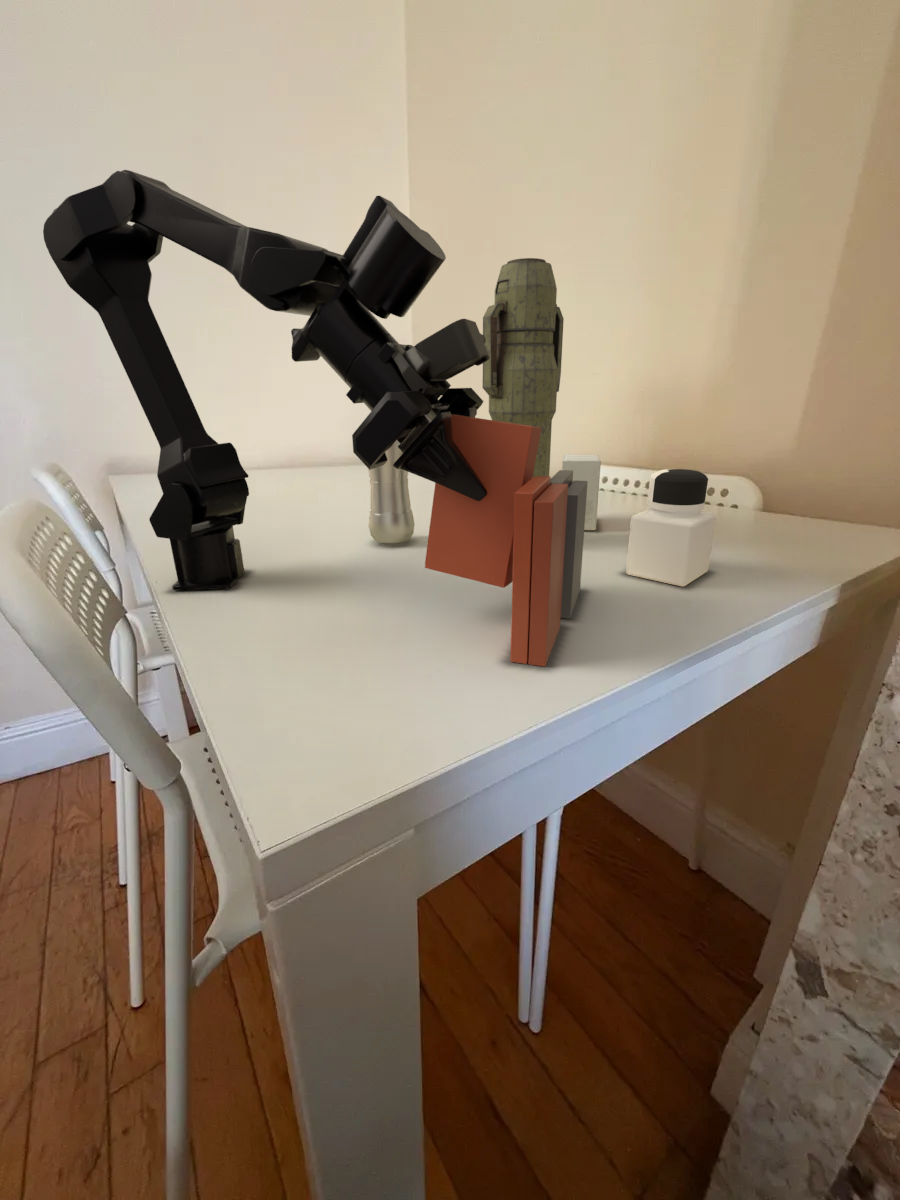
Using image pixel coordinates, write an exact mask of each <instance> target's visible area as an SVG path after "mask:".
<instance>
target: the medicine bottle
mask: <svg viewBox="0 0 900 1200" xmlns="http://www.w3.org/2000/svg"><path fill="white" fill-rule="evenodd" d="M708 482H709V478H708V476H707V475H706V474H705V473H703V472H701V471H700V470H696V469H695V470H694V469H684V468H666V469H660V470H658V471H655V472H653V473H652V474H651V475H650V477H649V484H648V494H647V503H646V507H648V508H649V509H646V510H644V511H641V512H639V513H635V514H633V515H632V516H630V524H629V525H630V526H629V534H628V535H629V536H628V537H629V538H628V546H627V554H626V555H627V556H626V565H625V566H626V567H625V574H626V575H628V576H632V577H633V576H634V577H637V578H641V579H647V580H651V581H655V582H660V583H665V584H670V585H673V586H678V587H686V586H687V585H689V584H691V583H692V582H694V581H695V580H697V579H698V578H699V577H701V576H703V575H704V574H706V573H708V571H709V568H710V560H711V554H712V548H713V542H714V535H715V528H716V522H717V514H716V513H714V512H710V511H703V510H704V509H705V505H706V504H705V503H706V496H707V490H708Z"/></svg>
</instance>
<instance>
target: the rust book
mask: <svg viewBox="0 0 900 1200" xmlns="http://www.w3.org/2000/svg"><path fill="white" fill-rule="evenodd" d="M451 423H452V439H453V441H454V442H455V444H456V445H457V447H458V448H459V450H460V451H461V453H462V454H463V455H464V457H465V458H466V460H467V461H468V463H469V464H470V466H471V467H472V469H473V470H474V471H475V473H476V474H477V476H478V477H479V479H480V480H481V482H482V484H483V485H484V487H485V488H486V490H487V492H488V493H487V495H486V496H485V497H484V498H483V499H482V500H481V501H476V500H474V499H472V498H469V497H467V496H465V495H463V494H460V493H458V492H456V491H453V490H451V489H449V488H447V487H444V486H442V485H440V484H437V483H435V482H434V491H433V499H432V505H431V513H430V514H431V515H430V521H429V522H430V523H429V528H428V536H427V537H428V538H427V545H426V553H425V561H424V568H425V569H427V570H431V571H436V572H440V573H443V574H448V575H450V576H456V577H459V578H463V579H467V580H471V581H475V582H478V583H482V584H487V585H491V586H495V587H499V588H503V589H505V588H506V587H507V586H509V585H510V584H511V583H512V578H513V536H514V494H515V492H516V491H517V490H519V489H520V488H521V487H522V486H523V485H525V484H526V483H527V482H528V481H530V480H531V479H532V478H533V472H534V467H535V461H536V456H537V450H538V445H539V439H540V434H541V428H540V427H534V426H527V425H520V424H514V423H507V422H500V421H494V420H492V419H487V418H480V417H475V418H474V417H467V416H460V415H453V414H451Z"/></svg>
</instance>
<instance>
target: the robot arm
mask: <svg viewBox="0 0 900 1200" xmlns="http://www.w3.org/2000/svg"><path fill="white" fill-rule="evenodd" d="M128 223H133V224H132V225H131V224H128ZM42 234H43V241H44V244H45V246H46V248H47V251H48V254H49V256H50V257H51V259H52V261H53V263H54V264H55V266H56V268H57V269H58V271H59V273H60V274H61V276H62V278H63V279H64V281H65V282H66V284H67V286H69V288H70V289H71V290H72V291H73V292H75V293H76V294H77V295H78V296H79V297H80V298H81V299H82V300H84V302H85V303H86V304H88V305H89V306H90V307H91V308H92V309H93V310H95V312H97V313H98V315H99V317H100V319H101V322H102V323H103V326H104V328H105V330H106V332H107V334H108V336H109V339H110V341H111V343H112V345H113V348H114V350H115V352H116V354H117V357H118V358H119V360H120V363H121V365H122V367H123V369H124V371H125V374H126V376H127V378H128V380H129V382H130V384H131V387H132V388H133V391H134V393H135V395H136V397H137V399H138V401H139V404H140V406H141V408H142V411H143V413H144V415H145V417H146V419H147V421H148V423H149V425H150V427H151V431H152V432H153V434H154V436H155V439H156V441H157V443H158V445H159V449H160V451H159V459H158V465H157V474H156V475H157V476H156V477H157V479H158V483H159V485H160V489H161V491H162V495H161V497H160V499H159V501H158V502H157V504H156V505H155V508H154V509H153V511H152V513H151V515H150V517H149V523H150V525H151V527H152V530H153V532H154V534H155V535H156V537H157V538H159V539H168V540H169V543H170V548H171V553H172V559H173V563H174V568H175V569H174V570H175V574H176V578H177V581H176V582H175V583H173V584H172V590H173V591H186V590H187V591H188V590H189V591H190V590H193V591H194V590H217V589H218V590H219V589H231V588H232V587H233V586H234V584H235V583H236V582H237V581H238V580H239V579H240V578H241V576H242V575H244V573H245V572H246V570H245V569H246V568H245V567H244V566H245V565H244V560H243V553H242V547H241V546H242V545H241V541H240V539H239V538H236V537H235V531H234V526H236V525H237V526H239V525H242V524H243V523H244V517H245V510H246V505H247V499H248V497H249V496H250V488H249V486H248V482H247V479H248V478H249V473H247V471H246V470H245V469H244V467H243V466H242V464H241V462H240V458H239V454H238V452H237V449H236V447H235V446H234V445H233V444H232V442H222V443H219V442H217V441H216V440H215V439H214V438H213V437H211V436H210V435H209V433H208V432H207V431H206V429H205V426H204V424H203V422H202V420H201V418H200V415H199V413H198V411H197V408H196V406H195V404H194V401H193V399H192V397H191V394H190V392H189V390H188V389H187V386H186V383H185V381H184V378H183V376H182V375H181V374H182V373H180V370H179V368H178V365H177V363H176V360H175V359H174V356H173V354H172V352H171V350H170V347H169V345H168V343H167V341H166V339H165V336H164V334H163V332H162V330H161V326H160V325H159V322H158V320H157V318H156V316H155V314H154V311H153V309H152V307H151V305H150V301H149V297H150V291H151V286H152V285H151V284H152V278H153V277H152V276H153V273H152V271H151V267H150V263H151V262H152V261H153V260H154V259H156V257H158V256H159V255H160V254H161V252H162V246H163V240H164V238H165V239H167V240H169V241H170V242H172V243H173V242H174V243H175V244H177V245H179V246H181V247H182V248H185V249H187V250H189V251H191V252H192V253H195V254H196V255H198V256H200V257H202V258H205V259H206V260H208V261H210V262H212V263H213V264H215V265H217V266H219V267H221V268H223V269H225V270H226V271H227V272H228V273H230V274H231V275H232V276H233V277H234V279H235V281H236V283H237V284H238V285H239V287H240V288H241V289H242V290H243V291H244V292H246V293H247V294H248V295H250V296H251V297H252V298H254V299H255V300H256V301H257V302H259V304H261V305H262V306H263V307H264V308H266V309H267V310H269V311H274V312H280V313H285V314H286V313H288V314H293V315H301V316H308V319H307V321H306V323H305V324H304V326H303V327H302V328H294V327H293V328H292V329H291V330H290V333H291V339H292V343H291V344H292V345H291V359H292V361H293V362H295V363H298V362H314V361H315V362H316V361H318V360H319V359H320V358H322V359H323V361H324V362H326V363H327V365H329V367H330V368H331V369H332V370H333V371H334V373H336V375H337V376H339V378H340V379H341V380H342V381H343V383H345V384H346V386H347V387H349V390H348V392H346V393H345V396H346V397H347V398H348V399H349V400H350V401H351V402H352V404H354V405H355V404H364V405H365V406H366V407H367V408H368V410H370V412H369V413H368V415H367V416H366V417H365V419H363V421H362V422H361V423H360V425H359V426H358V427H357V428H356V430H355V431H354V432H353V433H352V435H351V436H352V437H351V439H352V451H353V452H352V453H353V454H354V455H355V456H356V457H357V458H358V459H359V460H360V461H361V462H362V464H363V465H364V466H365V467H366V468H367V470H368V469H369V470H371V469H374V468H377V467H380V466H383V465H384V464H385V463H386V462H387V461H388V460H387V457H386V453H385V452H386V451H387V450H388V449H389V448H390V447H391V446H392V445H393V444H394V442H395V441H396V440H397V441H398V442H399V443H400V445H399V446H398V448H399V449H400V451H401V452H402V453H403V454H402V455H401V456H400V457H399V458H398V459H397V461H396V462H395V463H394V464H393V466H394V467H395V468H396V469H402V470H405V471H408V473H410V474H413V475H415V476H417V477H420V478H423V479H425V480H428V481H430V482H433V483H434V484H435V483H437V484H440V485H442V486H444V487H447V488H449V489H451V490H453V491H456V492H458V493H460V494H463V495H465V496H467V497H469V498H472V499H474V500H476V501H481V500H482V499H483V498H484V497H485V496H486V495H487V493H488V492H487V490H486V488H485V487H484V485H483V484H482V482H481V480H480V479H479V477H478V476H477V474H476V473H475V471H474V470H473V469H472V467H471V466H470V464H469V463H468V461H467V460H466V458H465V457H464V455H463V454H462V453H461V451H460V450H459V448H458V447H457V445H456V444H455V442H454V441H453V439H452V423H451V414H453V415H460V416H467V417H474V418H476V416H477V414H478V410H479V409H480V408H481V406H483V404H484V403H485V401H484V400H483V399H482V398H481V396H480V395H478V393H476V391H475V390H474V389H473V388H472V387H451V386H452V385H451V383H450V382H448V380H449V379H452V378H454V377H456V376H457V375H458V374H460V373H463V372H464V371H466V370H468V369H470V368H472V367H474V366H480V365H483V363H484V362H486V361H487V360H489V359H490V357H489V354H488V352H487V349H486V347H485V342H486V338H485V336H484V335H483V333H481V332H480V330H479V327H478V325H477V322H476V321H474V320H471V319H468V318H460V319H457V320H455V321H453V322H451V323H449V324H448V325H446V326H444V327H443V328H441V329H439V330H438V331H435V332H434V333H432V334H431V335H429V336H428V337H426V338H424V339H422V340H421V341H419V342H417V343H416V344H415V345H414V346H413V345H412V344H402V343H401V344H400V343H399V342H398V340H396V338H395V337H394V336H393V335H392V334H391V333H390V332H389V330H387V329H386V328H385V326H384V325H383V324H382V323H381V322H380V321H379V320H378V319H377V318H376V316H377V317H378V318H380V319H384V320H388V318H389V317H390V315H393V316H395V317H397V318H404V317H405V316H406V315H407V313H408V312H409V310H410V309H411V308H412V306H413V305H414V304H415V302H416V301H417V299H418V298H419V296H420V295H421V294H422V292H423V291H424V290H425V288H426V287H427V286H428V284H429V283H430V282H431V280H432V279H433V277H434V276H435V275H436V273H437V271H438V270H439V269H440V268H441V266H442V264H444V262H445V260H446V258H447V257H446V254H445V252H444V250H443V249H442V247H441V246H440V244H439V243H438V242H437V241H436V240H435V239H434V238H433V236H432V235H431V234H430V233H429V232H428V231H426V230H424V229H421V228H420V226H418V225H417V224H416V223H415V222H414V221H413V220H412V219H410V218H409V217H408V216H407V215H405V213H404V212H402V211H400V210H399V208H398V207H397V206H396V205H395V204H394V202H393V201H391V200H390V199H387V198H385V197H383V196H381V195H376V196H375V197H374V199H373V201H372V202H371V204H370V206H369V207H368V209H367V212H366V214H365V218H364V219H363V222H362V223H361V225H360V226H359V228H358V230H357V232H356V233H355V235H354V237H353V238H352V239H351V241H350V243H349V244H348V247H347V248H346V249H345V251H344V253H343V254H340V253H337V252H334V251H330V250H329V249H327V248H325V247H322V246H319V245H316V244H313V243H310V242H306V241H303V240H300V239H297V238H293V237H291V236H287V235H283V234H281V233H278V232H273V231H269V230H265V229H259V228H255V227H251V226H247V225H245V224H243V223H241V222H239V221H237V220H235V219H233V218H231V217H229V216H227V215H225V214H223V213H220V212H218V211H216V210H214V209H212V208H210V207H208V206H206V205H204V204H203V203H200V202H198V201H197V200H194V199H193V198H190V197H188V196H186V195H184V194H182V193H180V192H178V191H176V190H173V188H170V186H168V185H167V184H166V183H165V182H164V181H161V180H159V179H155V178H153V177H149V176H147V175H143V174H141V173H139V172H135V171H133V170H128V169H123V170H116V171H115V172H112V173H111V174H110V175H109V177H108V178H107V179H105V180H104V182H103V183H101V184H99V185H96V186H93V187H91V188H87V189H84V190H82V191H79V192H76V193H74V194H72V195H69V196H68V197H66V198H65V199H64V200H63V201H62V202H61V204H59V205H58V206H57V207H56V208H55V209H53V210H52V213H51V214H50V215H49V216H48V217H47V218H46V220H45V221H44V223H43V230H42ZM369 470H368V471H369Z"/></svg>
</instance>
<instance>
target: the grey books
mask: <svg viewBox="0 0 900 1200" xmlns="http://www.w3.org/2000/svg"><path fill="white" fill-rule="evenodd" d="M552 483H553V484H568V497H567V515H566V532H565V550H564V567H563V584H562V602H561V619H567V620H570V619H571V618H572V615H573V612H574V609H575V607H576V604H577V601H578V598H579V595H580V593H581V580H582V567H583V553H584V538H585V530H584V526H585V512H586V497H587V483H588V481H573V471H571V470H562V469H560V470H558V471H557V472H556V473H555V474H554V475H552V477H551V483H550V485H551V484H552Z"/></svg>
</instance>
